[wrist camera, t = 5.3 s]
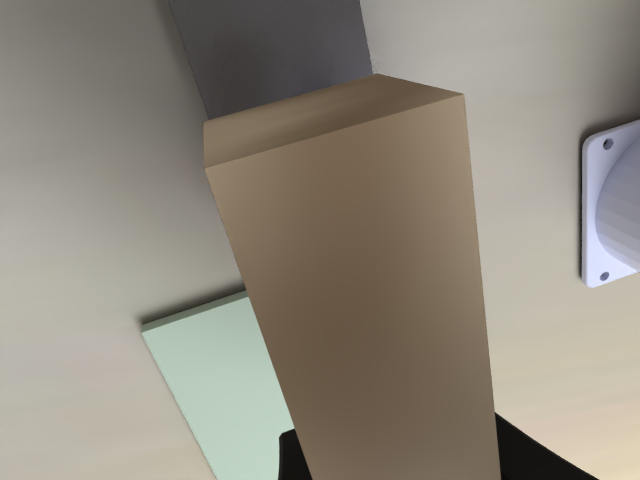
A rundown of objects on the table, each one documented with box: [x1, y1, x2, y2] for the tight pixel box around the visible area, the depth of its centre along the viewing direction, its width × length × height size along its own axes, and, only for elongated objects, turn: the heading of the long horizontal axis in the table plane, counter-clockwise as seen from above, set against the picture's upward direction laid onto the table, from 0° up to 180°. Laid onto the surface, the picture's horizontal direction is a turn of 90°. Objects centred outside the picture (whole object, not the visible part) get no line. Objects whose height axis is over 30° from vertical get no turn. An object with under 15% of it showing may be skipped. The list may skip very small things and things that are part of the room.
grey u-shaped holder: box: [168, 0, 373, 120], centre depth 14 cm, size 6×18×6 cm, turn 14°
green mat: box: [141, 290, 294, 480], centre depth 25 cm, size 11×20×1 cm, turn 14°
